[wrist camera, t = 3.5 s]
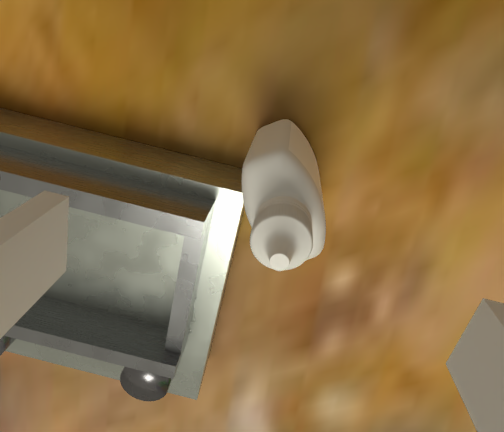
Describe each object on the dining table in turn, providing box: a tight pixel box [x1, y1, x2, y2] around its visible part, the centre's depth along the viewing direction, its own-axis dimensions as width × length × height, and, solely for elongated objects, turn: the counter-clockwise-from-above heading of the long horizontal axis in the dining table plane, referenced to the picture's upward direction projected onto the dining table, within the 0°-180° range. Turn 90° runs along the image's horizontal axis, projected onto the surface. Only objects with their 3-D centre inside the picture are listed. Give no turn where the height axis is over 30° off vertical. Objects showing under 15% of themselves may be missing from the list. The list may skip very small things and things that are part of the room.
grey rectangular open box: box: [0, 108, 245, 401], centre depth 26 cm, size 16×22×7 cm
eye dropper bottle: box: [241, 119, 326, 271], centre depth 20 cm, size 4×6×12 cm
